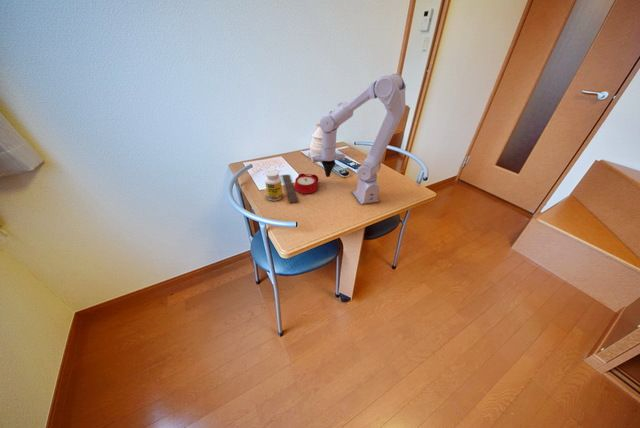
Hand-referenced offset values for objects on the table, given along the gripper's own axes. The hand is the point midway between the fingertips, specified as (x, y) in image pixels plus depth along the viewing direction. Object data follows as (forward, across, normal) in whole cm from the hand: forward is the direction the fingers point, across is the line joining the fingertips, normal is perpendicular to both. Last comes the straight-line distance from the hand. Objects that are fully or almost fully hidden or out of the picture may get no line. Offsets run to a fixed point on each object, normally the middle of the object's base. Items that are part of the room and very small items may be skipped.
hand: (327, 175), depth 99 cm
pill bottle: (+4, +25, +6) cm, 26 cm away
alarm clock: (+4, +10, 0) cm, 11 cm away
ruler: (+4, +18, 0) cm, 18 cm away
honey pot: (+4, -6, -34) cm, 35 cm away
